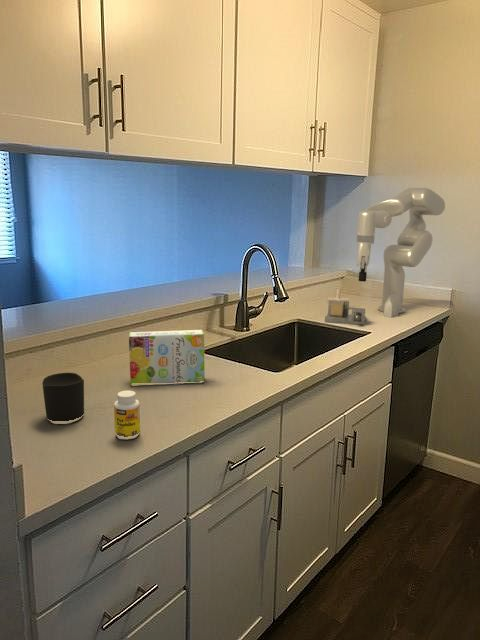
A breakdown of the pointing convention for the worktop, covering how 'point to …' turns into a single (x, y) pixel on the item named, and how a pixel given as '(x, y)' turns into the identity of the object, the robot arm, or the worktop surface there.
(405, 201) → the robot arm
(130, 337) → the snack box
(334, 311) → the block
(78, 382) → the pen holder
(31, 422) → the worktop surface
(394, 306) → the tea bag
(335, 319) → the bracket
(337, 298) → the pipe connector
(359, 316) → the lock pin
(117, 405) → the supplement bottle
